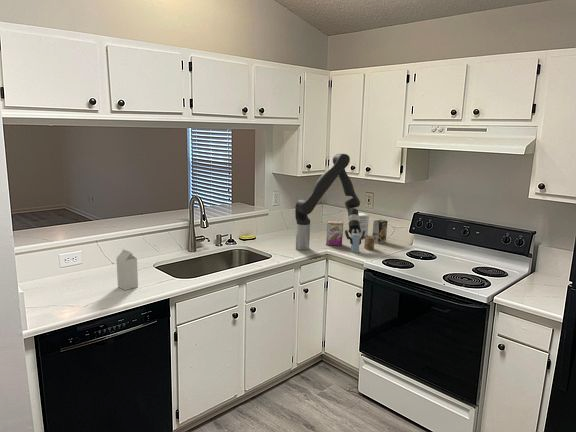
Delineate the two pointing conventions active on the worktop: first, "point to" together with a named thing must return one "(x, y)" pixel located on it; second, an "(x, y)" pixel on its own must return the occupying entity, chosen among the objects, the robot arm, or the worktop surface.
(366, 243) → the walnut block
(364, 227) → the supplement box
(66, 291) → the worktop surface
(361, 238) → the robot arm
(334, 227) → the candy bar box
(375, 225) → the coffee box
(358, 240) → the slate-blue block
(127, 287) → the milk carton
